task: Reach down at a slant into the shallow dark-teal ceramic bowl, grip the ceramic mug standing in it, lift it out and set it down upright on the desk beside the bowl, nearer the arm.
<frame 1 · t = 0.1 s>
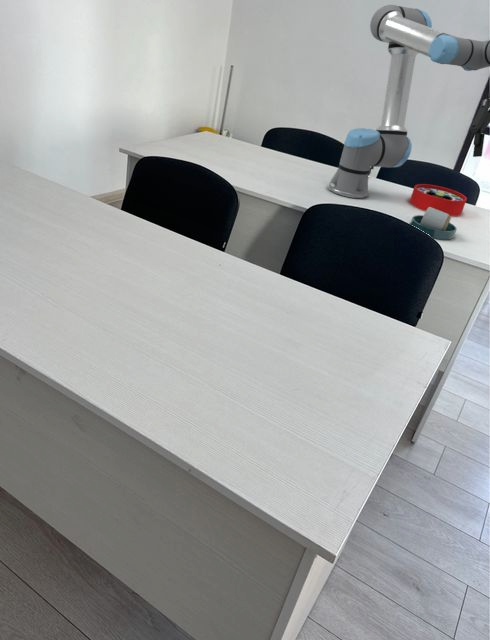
ceramic mug: (431, 231, 200), resting on bowl
toy clock: (435, 207, 228), on the table
bowl: (431, 231, 200), on the table
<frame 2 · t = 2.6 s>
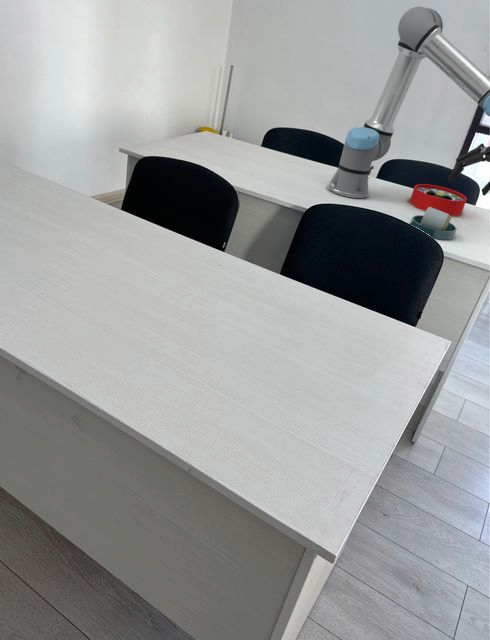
hand: (465, 186, 197), 15 cm above the table, tool tilted 45°, fingers open, 13 cm apart
nothing on the table moved.
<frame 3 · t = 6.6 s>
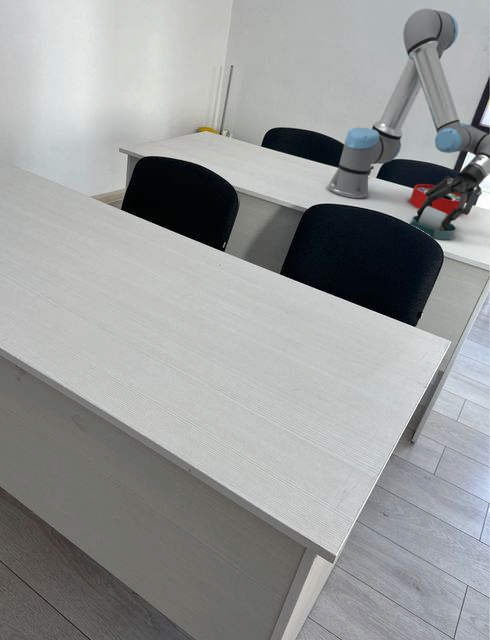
hand: (430, 220, 196), 4 cm above the table, tool tilted 45°, fingers closed on ceramic mug, 9 cm apart
ceramic mug: (429, 230, 200), resting on bowl, touching gripper
everything else where it was.
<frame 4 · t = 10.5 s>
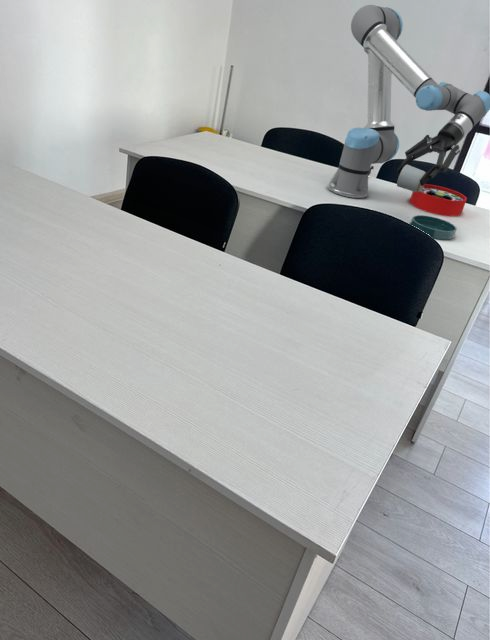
hand: (409, 178, 198), 15 cm above the table, tool tilted 45°, fingers closed on ceramic mug, 9 cm apart
ceramic mug: (408, 189, 203), point 10 cm above the table, touching gripper
everything else where it was.
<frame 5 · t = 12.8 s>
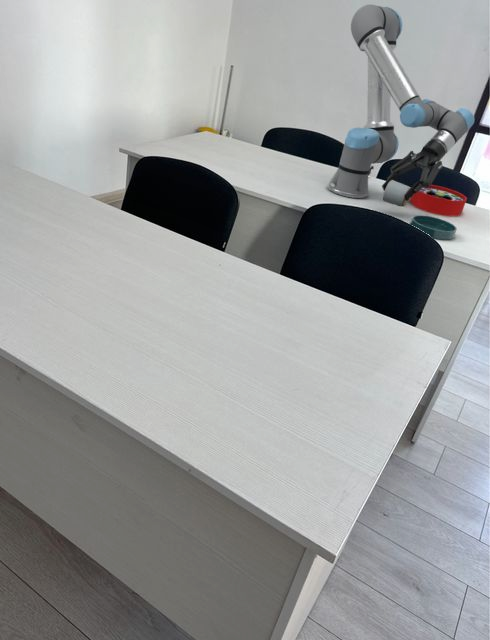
hand: (394, 193, 204), 8 cm above the table, tool tilted 45°, fingers closed on ceramic mug, 9 cm apart
ceramic mug: (394, 203, 209), point 4 cm above the table, touching gripper
everything else where it was.
when the fingers open (4 cm above the table, at t = 14.4 s): ceramic mug stays where it is, on the table.
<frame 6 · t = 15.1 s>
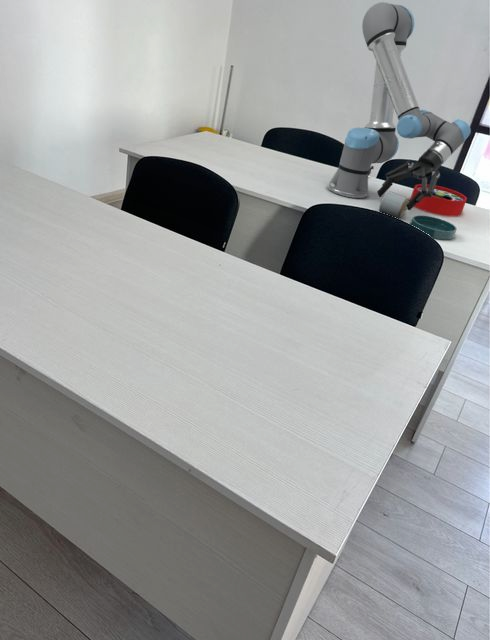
hand: (392, 201, 206), 5 cm above the table, tool tilted 45°, fingers open, 13 cm apart
ceramic mug: (391, 214, 211), on the table
everything else where it was.
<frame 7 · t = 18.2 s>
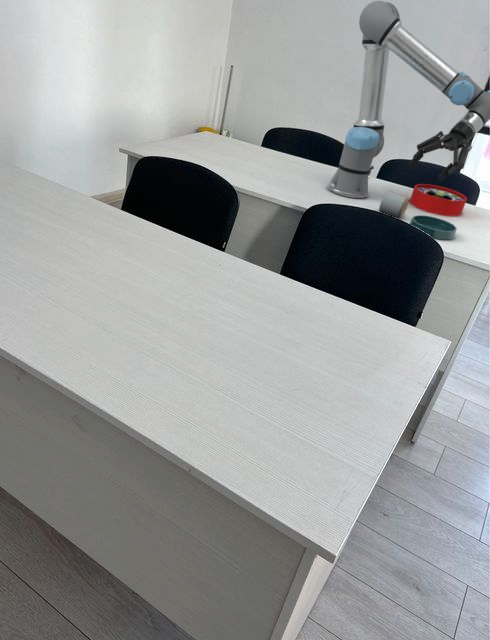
hand: (424, 172, 208), 15 cm above the table, tool tilted 45°, fingers open, 13 cm apart
nothing on the table moved.
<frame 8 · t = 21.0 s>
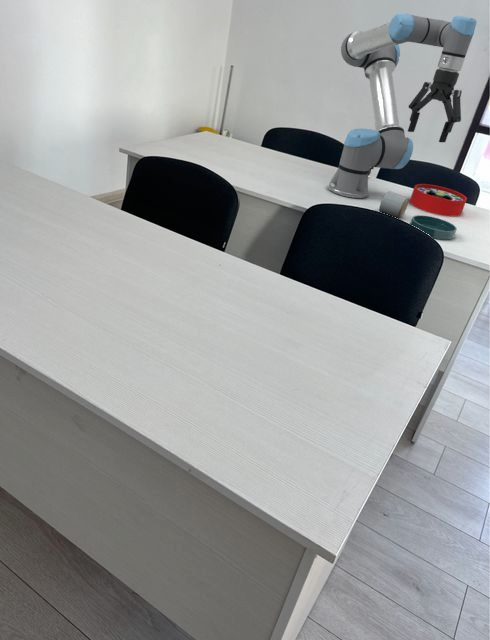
hand: (425, 136, 202), 27 cm above the table, tool pointing down, fingers open, 13 cm apart
nothing on the table moved.
at the end: ceramic mug inside the target area (0.7 cm from its centre), on the table; ceramic mug tilted 2°; the gripper is holding nothing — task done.
